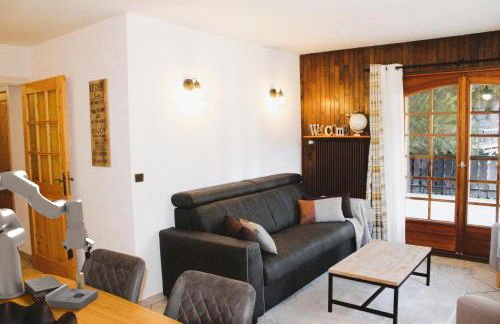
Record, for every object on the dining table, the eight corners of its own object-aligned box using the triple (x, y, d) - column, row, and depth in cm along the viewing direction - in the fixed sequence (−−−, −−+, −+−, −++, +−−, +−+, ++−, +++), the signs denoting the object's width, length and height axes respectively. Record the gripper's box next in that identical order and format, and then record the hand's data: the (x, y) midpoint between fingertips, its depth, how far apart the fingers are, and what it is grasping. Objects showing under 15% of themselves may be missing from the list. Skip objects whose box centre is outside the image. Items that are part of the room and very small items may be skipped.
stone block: (36, 301, 201) (35, 291, 200) (23, 290, 215) (23, 280, 214) (65, 293, 210) (65, 283, 209) (52, 283, 224) (51, 273, 224)
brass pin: (75, 292, 211) (74, 274, 210) (80, 289, 214) (78, 271, 213) (81, 292, 210) (80, 274, 209) (86, 289, 213) (84, 272, 212)
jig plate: (46, 306, 195) (45, 295, 195) (66, 293, 209) (65, 284, 208) (80, 309, 191) (79, 298, 190) (98, 296, 204) (97, 286, 204)
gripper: (55, 226, 207) (59, 260, 209) (86, 227, 203) (90, 262, 204) (65, 222, 214) (69, 255, 216) (96, 223, 210) (99, 256, 212)
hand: (79, 258), depth 210 cm, fingers open, 9 cm apart
